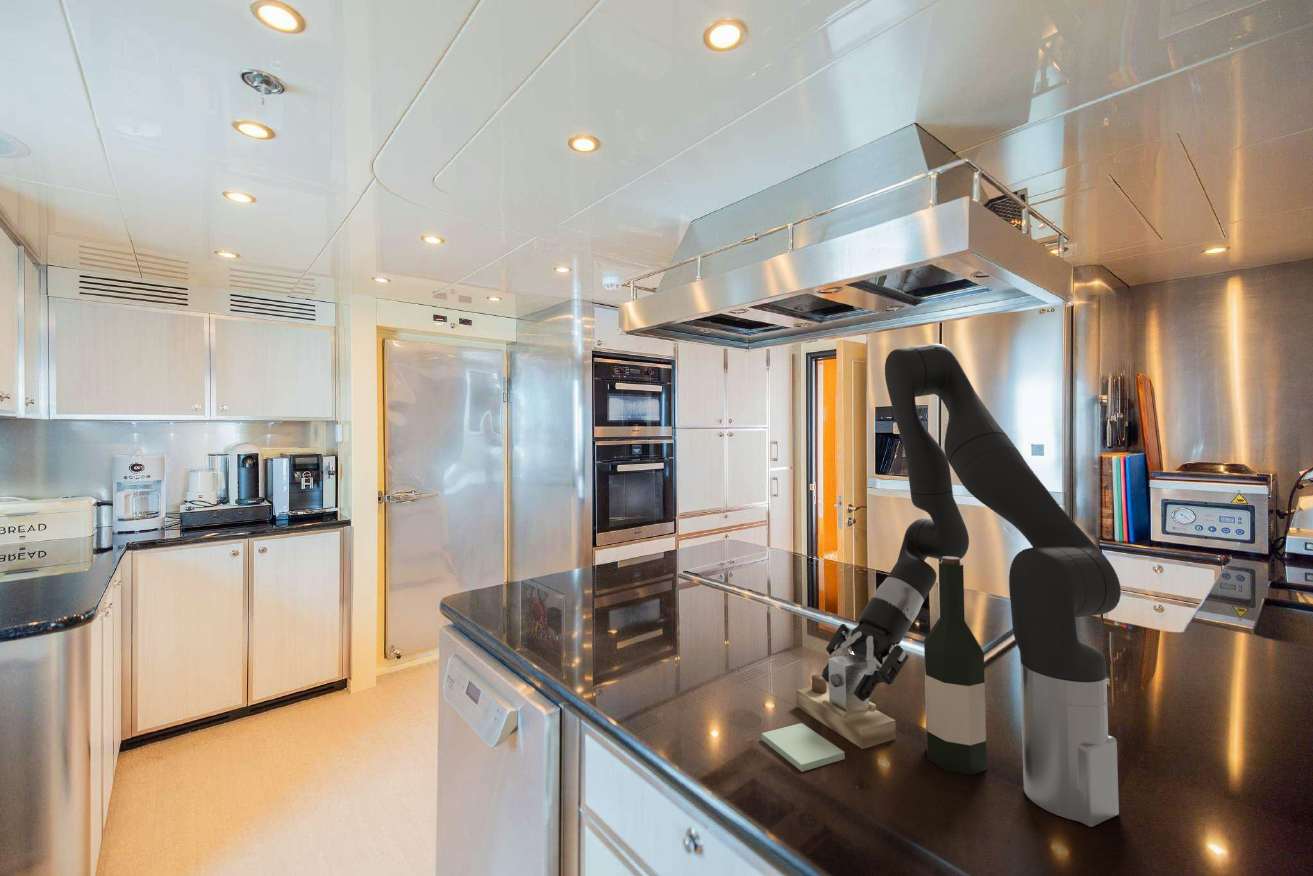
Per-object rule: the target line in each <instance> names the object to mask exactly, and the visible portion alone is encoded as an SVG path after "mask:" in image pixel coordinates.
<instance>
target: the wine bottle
mask: <svg viewBox="0 0 1313 876" xmlns="http://www.w3.org/2000/svg"><path fill="white" fill-rule="evenodd" d="M938 574H939V576H938V577H939V615H940V617H939V618H938V619H937V620H936V622H935V624H934V625H933V627H932V628H931V629H930V631H929V633H928V634H927V635H926V637H925V638H924V640H923V646H924V648H923V651H924V654H923V655H924V689H925V690H924V692H925V693H924V696H925V701H924V702H925V734H926V735H925V737H926V738H925V740H926V741H925V742H926V755H927V760H928V761H930V762H932V763H934V764H935V765H936V766H938V767H940V768H941V769H943V770H944V771H948V772H953V773H958V774H964V775H969V776H973V775H976V774H978V773H983V772H986V771H988V764H987V762H988V761H987V760H988V759H987V758H988V757H987V727H986V726H987V723H986V722H987V721H986V715H987V714H986V685H985V684H986V682H985V681H986V680H985V654H984V650H983V649H982V646H981V645H980V643H979V641H978V640H977V638H976V637H975V635H974V634H973V631H972V630H971V628H970V627H969V625H968V624H967V622H966V620H965V619H966V617H965V586H964V585H965V583H964V582H965V581H964V577H965V576H964V574H965V573H964V564H963V563H962V562H961V559H960V558H958V557H950V556H945V557H942V560H941V561H939V562H938Z"/></svg>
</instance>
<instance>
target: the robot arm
mask: <svg viewBox="0 0 1313 876" xmlns="http://www.w3.org/2000/svg"><path fill="white" fill-rule="evenodd" d="M884 378H885V383H886V389H887V392H888V396H889V400H890V403H891V408H892V410H893V411H892V412H893V415H894V420H895V422H896V425H897V426H896V427H897V429H898V432H899V436H900V439H901V444H902V446H903V450H904V454H905V455H904V456H905V461H906V466H907V474H908V483H909V490H910V491H909V492H910V498H911V499H910V500H911V502H912V505H913V506H914V507H915V508H917V509H919V510H922V511H924V512H926V513H927V514H928V515H929V516H930V517H931V519H930V518H919V519H917V520H914V521H913V522H912V523H910V524H909V526H907V528H906V530H905V534H904V536H903V540H902V544H901V547H900V550H899V553H898V558H897V561H896V563H895V564H894V566H893V567H892V569H891V570H890V572H889V573H888V575H887V576H886V577H885V579H884V581H883V582H882V583H881V584H880V585H879V586H878V587H877V589H876V590H875V592H874V593H873V595H872V597H871V598H870V600H869V601H868V602H867V604H866V606H865V608H863V610H862V612H861V613H860V615H859V617H858V618H859V623H858V625H857V626H855V627H854V628H853V629H852V628H850V627H848V626H847V625H846V624H845V623H842V624H840V625H839V627H838V628H837V630H836V631H835V633H834V635H833V636H832V638H831V640H830V641H829V643H828V645H827V646H826V648H825V650H826V652H827V653H828V654H829V655H830V658H832V657H837V656H842V655H847V654H853V655H855V656H857V657H860V658H862V659H864V660H866V661H867V662H868V670H867V673H868V675H866V674H865V675H864V676H863V678H862V679H861V681H860V682H859V684H858V686H857V687H856V689H855V690H854V695H855V696H856V697H857V698H858V699H859V700H861V701H865V699H867V698H869V699H870V696H871V695H872V693H873V691H874V690H875V688H876V686H877V685H878V684H881V683H884V684H886V685H888V686H889V685H892V684H893V682H894V681H895V679H896V678H897V676H898V675H899V673H900V671H902V668H903V667H904V665H905V664H906V662H907V661H908V659H909V655H908V652H906V650H904V649H903V647H901V646H900V644H901V642H902V641H903V639H904V637H905V636H906V634H907V632H908V631H909V629H910V628H911V626H912V624H913V623H914V621H915V619H916V618H917V616H918V615H919V612H920V610H921V608H922V606H923V603H924V602H925V600H926V599H927V597H928V595H929V593H930V592H931V591H932V589H933V587H934V585H935V583H936V581H937V578H938V577H937V572H936V571H935V569H934V567H933V566H931V564H929V563H928V562H927V561H925V560H926V559H928V558H930V559H936V560H941V561H942V557H945V556H950V557H958V558H960V560H961V559H963V558H964V557H965V556H966V554H967V552H968V550H969V545H970V537H969V533H968V529H967V526H966V524H965V521H964V519H963V517H962V514H961V511H960V510H959V507H958V504H957V503H956V500H955V498H954V492H953V485H952V483H953V482H952V475H951V474H952V473H951V468H952V470H953V472H954V473H955V474H956V477H957V478H958V479H959V481H960V483H961V484H962V486H963V487H964V488H965V489H966V491H967V492H968V493H969V494H970V495H971V496H973V497H974V498H975V499H977V500H978V502H980V503H982V504H983V505H985V506H986V507H987V508H989V509H990V510H992V511H993V512H994V513H996V514H997V515H999V516H1000V517H1001V518H1003V519H1004V520H1006V521H1007V522H1009V524H1011V525H1012V526H1013V527H1015V528H1016V530H1018V531H1019V532H1020V533H1021V535H1023V537H1025V539H1026V540H1027V541H1028V543H1029V544H1030V546H1031V547H1028V548H1024V549H1022V550H1021V551H1019V552H1018V553H1017V554H1016V555H1015V556H1014V557H1013V559H1012V562H1011V564H1010V567H1009V574H1008V588H1009V590H1008V591H1009V601H1010V610H1011V611H1010V612H1011V625H1012V632H1013V637H1014V640H1015V643H1016V645H1017V647H1018V649H1019V659H1020V660H1019V661H1020V700H1021V701H1020V703H1021V736H1022V737H1021V738H1022V739H1021V740H1022V741H1021V743H1022V744H1021V745H1022V767H1023V768H1022V775H1023V776H1022V777H1023V791H1024V794H1025V795H1026V797H1027V798H1028V799H1029V800H1030V801H1031V802H1033V803H1034V804H1035V805H1037V806H1038V807H1040V808H1041V809H1043V810H1045V811H1047V812H1048V813H1051V814H1054V815H1056V816H1059V817H1062V818H1064V819H1067V820H1072V821H1075V822H1080V823H1082V824H1084V826H1085V825H1086V826H1087V827H1089V828H1093V827H1095V826H1096V825H1099V824H1101V823H1103V822H1105V821H1107V820H1110V819H1112V818H1114V817H1116V816H1118V815H1119V813H1120V811H1119V810H1120V809H1119V806H1120V805H1119V779H1118V778H1119V776H1118V774H1119V773H1118V745H1117V743H1118V742H1117V738H1115V737H1114V736H1111V735H1110V734H1109V724H1108V723H1109V722H1108V721H1109V720H1108V719H1109V717H1108V716H1109V715H1108V690H1107V689H1108V688H1107V684H1108V683H1107V661H1106V657H1105V655H1104V653H1102V651H1101V650H1099V649H1098V648H1097V647H1094V646H1093V645H1090V644H1087V643H1086V642H1082V641H1080V640H1079V638H1078V632H1077V624H1076V618H1082V617H1085V618H1086V617H1092V616H1100V615H1104V614H1107V613H1109V612H1111V611H1113V610H1114V609H1115V608H1117V605H1118V604H1119V602H1120V601H1121V600H1120V599H1121V594H1122V592H1121V589H1122V588H1121V582H1120V580H1119V577H1118V574H1117V571H1116V570H1115V568H1114V567H1113V565H1112V564H1111V562H1110V561H1109V560H1108V558H1107V557H1106V555H1105V554H1104V553H1103V552H1102V550H1100V548H1098V546H1097V545H1096V544H1095V543H1094V541H1092V540H1091V538H1090V537H1089V536H1088V535H1087V534H1086V533H1085V532H1084V531H1083V530H1082V529H1081V528H1080V527H1079V526H1078V525H1077V524H1076V522H1075V521H1073V519H1072V518H1071V517H1070V516H1069V515H1068V514H1067V512H1065V510H1064V509H1063V508H1062V507H1061V505H1060V504H1059V503H1058V502H1057V501H1056V500H1055V498H1054V497H1053V495H1052V494H1051V493H1050V491H1049V490H1048V489H1047V488H1046V486H1045V485H1044V484H1043V483H1042V481H1041V480H1040V478H1038V475H1036V473H1034V471H1033V470H1032V468H1031V467H1030V466H1029V465H1028V462H1026V460H1025V458H1024V457H1023V455H1022V454H1021V452H1020V451H1019V449H1018V448H1017V447H1016V446H1015V444H1014V443H1013V441H1012V440H1011V438H1009V436H1008V434H1006V432H1005V431H1004V430H1003V429H1002V428H1001V426H1000V425H999V424H998V422H997V421H996V420H995V418H994V417H993V416H992V414H991V412H990V411H989V410H988V409H987V407H986V406H985V404H984V402H983V401H982V400H981V398H980V397H979V395H978V394H977V392H976V391H975V389H974V387H973V385H972V383H971V381H970V380H969V378H968V376H967V374H966V372H965V370H964V368H963V367H962V366H961V364H960V361H959V360H958V359H957V357H956V356H955V354H954V353H953V351H951V349H950V348H948V347H947V346H946V345H944V344H941V343H927V344H920V345H919V344H918V345H912V346H906V347H900V348H895V349H893V350H892V351H891V352H889V353H888V354H887V357H886V360H885V363H884ZM930 395H936V396H937V397H938V398H939V399H940V400H941V401H942V403H943V404H944V405H945V408H946V411H947V412H948V413H947V414H948V419H947V424H946V425H947V426H946V432H945V436H944V445H943V446H944V448H942V447H941V445H940V444H939V443H938V442H937V441H936V440H935V438H934V437H933V436H932V435H931V434H930V432H929V430H928V429H927V428H926V426H925V425H924V422H922V420H921V418H920V415H919V412H918V409H917V404H916V398H918V397H924V396H930ZM943 449H944V450H943ZM821 675H822V677H823V678H824V679H825V680H826V681H827V683H828V684H829V661H828V663H827V664H826V665H825V667H824V668H823V670H822V673H821Z"/></svg>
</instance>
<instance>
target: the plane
mask: <svg viewBox="0 0 1313 876" xmlns="http://www.w3.org/2000/svg"><path fill="white" fill-rule="evenodd" d="M796 707H797V708H798V709H800V710H801V711H803V712H804V713H806V714H807V715H809V716H810V717H812V718H813V719H815V720H816V721H819V722H820V724H821V723H822V724H823V725H824V726H826V727H828V728H829V729H830V730H832V731H834V732H836V733H837V734H838V735H840V736H841V737H843V738H845V739H847V740H848V741H849V742H851V743H853V744H854V745H856V746H857V747H859V748H860V749H861V750H864V749H868V748H871V747H873V746H877V745H881V744H884V743H888V742H891V741H895V740H896V739H897V737H896V735H897V732H896V731H897V730H896V719H894V718H892V717H890V716H888V715H886V714H885V713H883V712H882V711H880V710H877V705H876V704H875V703H873V702H872V701H870V700H869V710H867V711H863V712H859V713H855V714H851V715H847V713H846V712H845V711H843V710H841V709H840V708H838V707H836V706H834V705H833V704H831V703H829V683H828V682H827V681H826V680H825V679H824V678H823V677H822V674H820V673H817V674H812V675H811V686H808V687H803V688H799V689H796Z"/></svg>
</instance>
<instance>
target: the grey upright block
mask: <svg viewBox="0 0 1313 876" xmlns="http://www.w3.org/2000/svg"><path fill="white" fill-rule="evenodd" d="M828 662H829V683H828V684H829V703H831V704H833V705H834V706H836V707H838V708H840V709H841V710H843V711H845V712H846V713H847V715H851V714H855V713H859V712H863V711H867V710H869V701H870V697H869V698H867V699H865V701H861V700H859V699H858V698H857V697H856V696H855V695H854V690H855V689H856V687H857V686H858V684H859V682H860V681H861V679H862V678H863V676H864V675H865V674H866V675H868V673H867V670H868V662H867V660H864V659H862V658H860V657H857V656H855V655H853V654H847V655H846V654H843V655H841V656H837V657H832V658H831V657H829V658H828Z"/></svg>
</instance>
